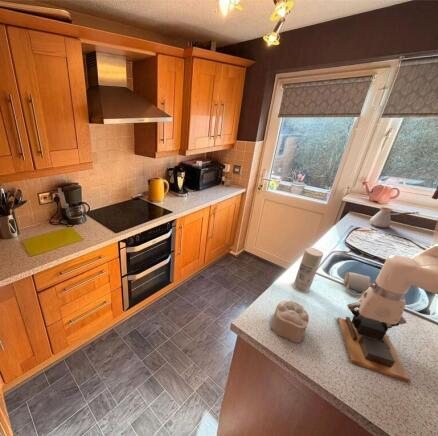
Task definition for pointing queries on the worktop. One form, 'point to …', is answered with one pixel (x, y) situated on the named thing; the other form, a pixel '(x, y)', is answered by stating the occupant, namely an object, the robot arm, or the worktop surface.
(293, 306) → the lumpy-topped squat cylinder
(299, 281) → the spray can
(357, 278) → the ceramic mug
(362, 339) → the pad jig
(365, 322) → the dark grey square block
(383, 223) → the coffee pot
